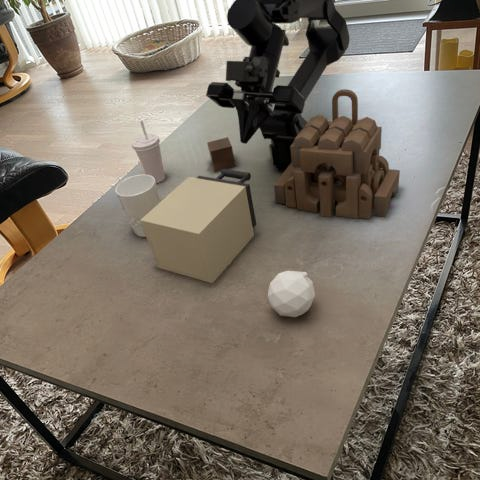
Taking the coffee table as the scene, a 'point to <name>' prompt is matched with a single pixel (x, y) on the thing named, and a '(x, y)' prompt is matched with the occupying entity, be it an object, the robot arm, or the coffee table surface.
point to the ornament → (291, 293)
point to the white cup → (138, 199)
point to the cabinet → (199, 228)
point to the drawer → (237, 175)
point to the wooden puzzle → (338, 167)
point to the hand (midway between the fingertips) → (243, 142)
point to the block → (221, 154)
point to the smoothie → (149, 154)
